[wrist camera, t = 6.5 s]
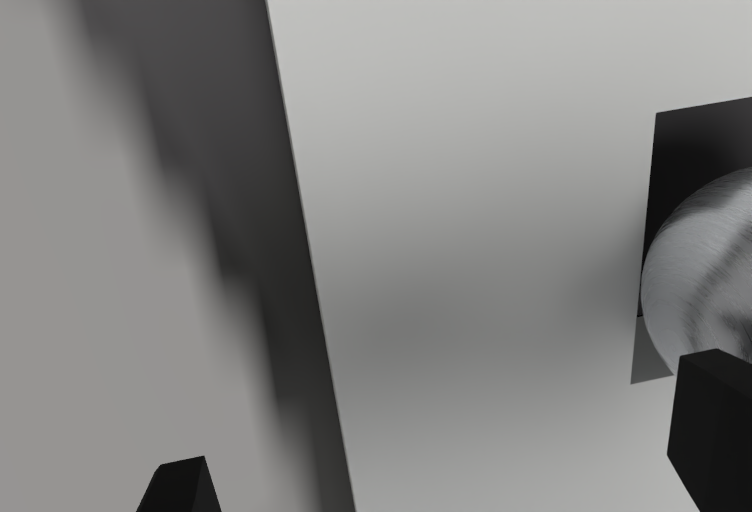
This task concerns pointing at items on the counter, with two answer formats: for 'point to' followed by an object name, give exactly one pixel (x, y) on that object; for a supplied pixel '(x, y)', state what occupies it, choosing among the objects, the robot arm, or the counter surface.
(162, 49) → the counter surface
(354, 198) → the deck
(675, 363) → the ball
